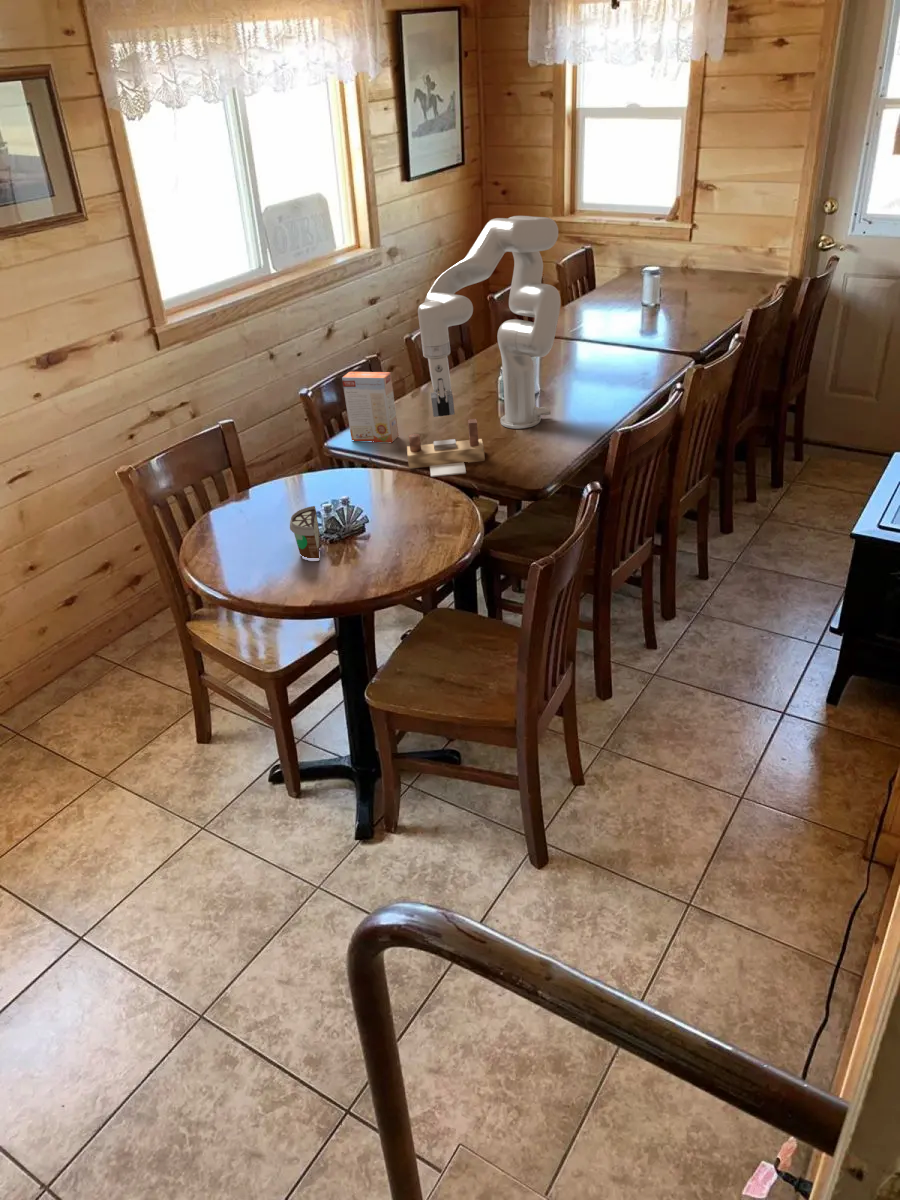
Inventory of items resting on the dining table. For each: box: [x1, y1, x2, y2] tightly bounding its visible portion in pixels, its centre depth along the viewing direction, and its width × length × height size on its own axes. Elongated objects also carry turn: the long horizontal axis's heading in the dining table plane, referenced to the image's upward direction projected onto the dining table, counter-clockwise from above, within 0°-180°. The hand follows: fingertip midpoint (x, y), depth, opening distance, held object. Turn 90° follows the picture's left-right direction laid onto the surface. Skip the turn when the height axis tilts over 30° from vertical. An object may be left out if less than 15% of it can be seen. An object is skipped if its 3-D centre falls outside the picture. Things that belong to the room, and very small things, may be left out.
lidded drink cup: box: [289, 505, 321, 558], centre depth 218 cm, size 12×6×10 cm, turn 5°
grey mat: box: [429, 462, 467, 478], centre depth 256 cm, size 10×7×1 cm
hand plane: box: [406, 418, 486, 469], centre depth 259 cm, size 22×7×11 cm, turn 94°
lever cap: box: [430, 389, 456, 418], centre depth 253 cm, size 6×4×6 cm
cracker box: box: [341, 371, 399, 444], centre depth 275 cm, size 14×6×21 cm, turn 71°
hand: (443, 411), depth 255 cm, fingers closed on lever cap, 4 cm apart
